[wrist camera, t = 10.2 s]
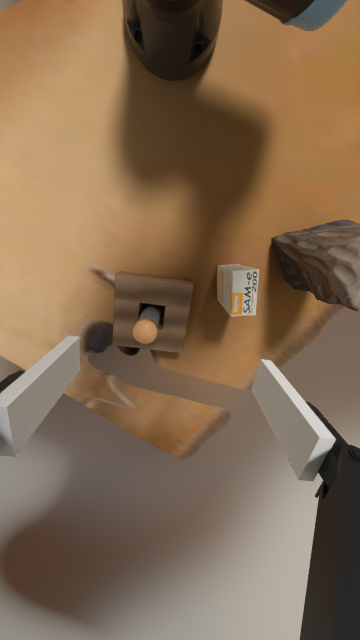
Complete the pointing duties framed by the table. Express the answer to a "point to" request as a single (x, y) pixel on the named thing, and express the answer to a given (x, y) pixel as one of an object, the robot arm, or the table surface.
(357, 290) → the brown rock
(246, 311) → the supplement box
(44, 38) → the table surface
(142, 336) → the marker peg
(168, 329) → the socket board
